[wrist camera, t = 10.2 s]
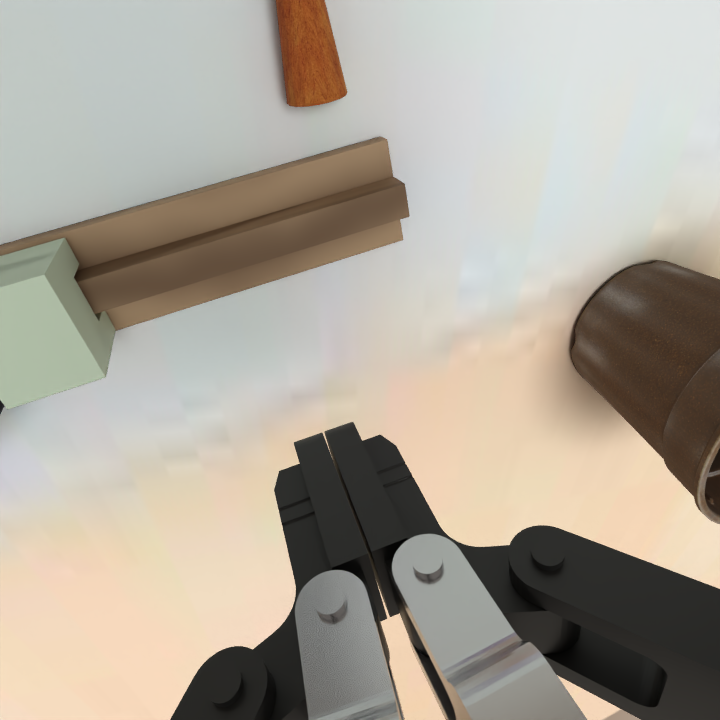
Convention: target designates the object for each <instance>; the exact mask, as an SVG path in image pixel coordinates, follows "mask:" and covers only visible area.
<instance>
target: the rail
mask: <svg viewBox="0 0 720 720" xmlns="http://www.w3.org/2000/svg"><path fill="white" fill-rule="evenodd" d="M406 217H409V209H408V203H407V196H406V189H405V184H404V183H403V182H401V181H399V180H398V179H396V178H395V177H393V173H392V167H391V160H390V154H389V148H388V142H387V139H385V138H383V137H377V138H374V139H370V140H367V141H363V142H360V143H356V144H353V145H349V146H346V147H342V148H339V149H335V150H332V151H328V152H325V153H321V154H318V155H314V156H311V157H307V158H304V159H300V160H297V161H293V162H290V163H286V164H283V165H279V166H276V167H272V168H269V169H265V170H262V171H258V172H255V173H251V174H248V175H244V176H241V177H237V178H234V179H230V180H227V181H223V182H220V183H216V184H213V185H209V186H206V187H202V188H199V189H195V190H192V191H188V192H185V193H181V194H178V195H174V196H171V197H167V198H164V199H160V200H157V201H153V202H150V203H146V204H143V205H139V206H136V207H132V208H129V209H125V210H122V211H118V212H115V213H111V214H108V215H104V216H101V217H97V218H93V219H90V220H86V221H83V222H79V223H76V224H72V225H69V226H65V227H62V228H58V229H55V230H51V231H48V232H44V233H41V234H37V235H34V236H30V237H27V238H23V239H20V240H16V241H13V242H9V243H6V244H2V245H0V256H2V255H6V254H9V253H13V252H16V251H19V250H23V249H26V248H30V247H33V246H37V245H40V244H44V243H47V242H51V241H54V240H58V239H61V238H65V239H66V241H67V242H68V244H69V246H70V248H71V250H72V251H73V253H74V255H75V257H76V259H77V261H78V262H79V266H78V269H77V271H76V273H75V276H74V278H75V280H76V282H77V284H78V286H79V287H80V289H81V291H82V293H83V294H84V296H85V298H86V300H87V301H88V303H89V305H90V307H91V308H92V310H93V312H94V314H97V313H100V312H103V311H106V313H107V315H108V317H109V319H110V320H111V322H112V324H113V326H114V328H115V329H116V330H119V329H123V328H126V327H129V326H132V325H135V324H138V323H142V322H145V321H148V320H151V319H154V318H157V317H161V316H164V315H167V314H170V313H173V312H176V311H180V310H183V309H186V308H189V307H192V306H195V305H199V304H202V303H205V302H208V301H211V300H214V299H218V298H221V297H224V296H227V295H230V294H233V293H237V292H240V291H243V290H246V289H249V288H252V287H256V286H259V285H262V284H265V283H268V282H271V281H275V280H278V279H281V278H284V277H287V276H290V275H294V274H297V273H300V272H303V271H306V270H309V269H313V268H316V267H319V266H322V265H325V264H328V263H332V262H335V261H338V260H341V259H344V258H347V257H351V256H354V255H357V254H360V253H363V252H366V251H370V250H373V249H376V248H379V247H382V246H385V245H388V244H392V243H395V242H398V241H401V240H403V235H402V229H401V223H400V219H403V218H406ZM116 330H115V331H116Z"/></svg>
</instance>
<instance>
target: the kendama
mask: <svg viewBox="0 0 720 720" xmlns="http://www.w3.org/2000/svg"><path fill="white" fill-rule="evenodd" d="M276 7H277V16H278V25H279V34H280V43H281V52H282V61H283V70H284V80H285V89H286V98H287V104H288V105H289V106H295V107H306V106H314V105H320V104H324V103H329V102H332V101H335V100H338V99H341V98H342V97H344V96H346V94H347V89H346V85H345V81H344V77H343V73H342V69H341V65H340V61H339V57H338V53H337V49H336V45H335V41H334V37H333V33H332V29H331V25H330V20H329V16H328V12H327V8H326V4H325V0H276Z"/></svg>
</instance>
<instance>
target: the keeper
mask: <svg viewBox="0 0 720 720" xmlns="http://www.w3.org/2000/svg"><path fill="white" fill-rule="evenodd" d="M78 266H79V262H78V261H77V259H76V257H75V255H74V253H73V251H72V250H71V248H70V246H69V244H68V242H67V241H66V239H65V238H61V239H58V240H54V241H51V242H47V243H44V244H40V245H37V246H33V247H30V248H26V249H23V250H19V251H16V252H13V253H9V254H6V255H2V256H0V400H1V402H2V403H3V404H4V406H5V407H6V408H7V409H11V408H14V407H17V406H20V405H23V404H26V403H29V402H32V401H35V400H38V399H41V398H44V397H47V396H50V395H53V394H56V393H60V392H63V391H66V390H69V389H72V388H75V387H78V386H81V385H84V384H87V383H90V382H93V381H96V380H99V379H102V378H105V377H106V374H107V369H108V364H109V359H110V355H111V350H112V345H113V340H114V335H115V330H116V329H115V328H114V326H113V324H112V322H111V320H110V319H109V317H108V315H107V313H106V311H103V312H100V313H97V314H94V312H93V310H92V308H91V307H90V305H89V303H88V301H87V300H86V298H85V296H84V294H83V293H82V291H81V289H80V287H79V286H78V284H77V282H76V280H75V278H74V276H75V273H76V271H77V269H78Z"/></svg>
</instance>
